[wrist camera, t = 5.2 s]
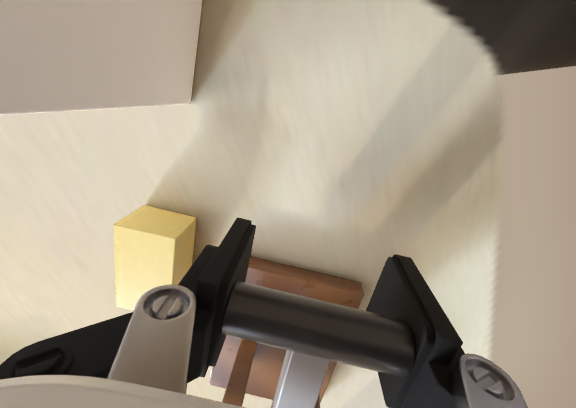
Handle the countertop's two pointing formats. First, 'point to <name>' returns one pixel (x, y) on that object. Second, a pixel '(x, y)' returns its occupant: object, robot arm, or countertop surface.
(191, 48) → the milk
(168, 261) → the butter
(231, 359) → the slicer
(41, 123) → the countertop surface
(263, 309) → the lever
